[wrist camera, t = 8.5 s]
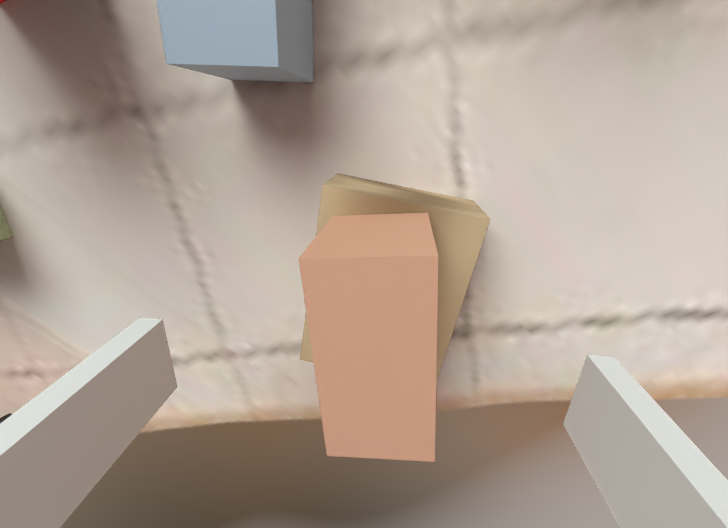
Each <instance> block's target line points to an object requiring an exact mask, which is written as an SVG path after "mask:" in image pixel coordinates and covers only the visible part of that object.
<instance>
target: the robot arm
mask: <svg viewBox="0 0 728 528" xmlns="http://www.w3.org/2000/svg"><path fill="white" fill-rule="evenodd" d="M176 388H177V383H176V378H175V374H174V369H173V365H172V360H171V356H170V351H169V346H168V342H167V337H166V333H165V328H164V324H163V319H152V318H139V319H137V320H136V321H135V322H133V323H132V324H131V325H129V326H128V327H127V328H126V329H124V330H123V331H122V332H120V333H119V334H118V335H116V336H115V337H114V338H112V339H111V340H110V341H108V342H107V343H106V344H104V345H103V346H102V347H100V348H99V349H98V350H97V351H95V352H94V353H93V354H91V355H90V356H89V357H87V358H86V359H85V360H83V361H82V362H81V363H79V364H78V365H77V366H75V367H74V368H73V369H71V370H70V371H69V372H68V373H66V374H65V375H64V376H62V377H61V378H60V379H58V380H57V381H56V382H54V383H53V384H52V385H50V386H49V387H48V388H46V389H45V390H44V391H43V392H41V393H40V394H39V395H37V396H36V397H35V398H33V399H32V400H31V401H29V402H28V403H27V404H25V405H24V406H23V407H21V408H20V409H19V410H17V411H16V412H15V413H14V414H10V413H9V414H7V415H5V416H3V417H2V418H0V528H60V527H61V526H62V525H63V523H64V522H65V521H66V520H67V519H68V517H69V516H70V515H71V514H72V513H73V511H74V510H75V509H76V508H77V507H78V505H79V504H80V503H81V502H82V501H83V499H84V498H85V497H86V496H87V495H88V493H89V492H90V491H91V490H92V488H93V487H94V486H95V485H96V484H97V482H98V481H99V480H100V479H101V478H102V477H103V475H104V474H105V473H106V472H107V470H108V469H109V468H110V467H111V466H112V465H113V463H114V462H115V461H116V460H117V458H118V457H119V456H120V455H121V454H122V452H123V451H124V450H125V449H126V448H127V447H128V445H129V444H130V443H131V442H132V441H133V439H134V438H135V437H136V436H137V435H138V433H139V432H140V431H141V430H142V429H143V427H144V426H145V425H146V424H147V423H148V421H149V420H150V419H151V418H152V417H153V415H154V414H155V413H156V412H157V411H158V409H159V408H160V407H161V406H162V405H163V403H164V402H165V401H166V400H167V399H168V397H169V396H170V395H171V394H172V393H173V391H174V390H175V389H176ZM563 425H564V427H565V429H566V430H567V432H568V434H569V436H570V437H571V440H572V441H573V443H574V445H575V447H576V449H577V451H578V452H579V454H580V456H581V458H582V460H583V462H584V463H585V465H586V467H587V469H588V471H589V473H590V474H591V476H592V478H593V480H594V482H595V484H596V485H597V487H598V489H599V491H600V493H601V495H602V497H603V498H604V500H605V502H606V504H607V506H608V508H609V509H610V511H611V513H612V515H613V517H614V518H615V520H616V522H617V524H618V526H619V528H728V480H727V479H726V478H725V477H724V476H723V475H722V474H721V473H720V472H719V471H718V469H716V467H715V466H714V465H713V464H712V463H711V462H710V461H709V460H708V459H707V457H706V456H705V455H704V454H703V453H702V452H701V451H700V450H699V449H698V448H697V447H696V446H695V444H694V443H693V442H692V441H691V440H690V439H689V438H688V437H687V436H686V434H685V433H684V432H683V431H682V430H681V429H680V428H679V427H678V426H677V425H676V424H675V422H674V421H673V420H672V419H671V418H670V417H669V416H668V415H667V414H666V413H665V412H664V410H663V409H662V408H661V407H660V406H659V405H658V404H657V403H656V402H655V401H654V400H653V398H652V397H651V396H650V395H649V394H648V393H647V392H646V391H645V390H644V389H643V388H642V386H641V385H640V384H639V383H638V382H637V381H636V380H635V379H634V378H633V377H632V376H631V374H630V373H629V372H628V371H627V370H626V369H625V368H624V367H623V366H622V365H621V364H620V362H619V361H618V360H617V359H616V358H615V357H609V356H597V355H587V357H586V360H585V363H584V366H583V368H582V371H581V374H580V377H579V380H578V383H577V386H576V389H575V392H574V395H573V397H572V400H571V403H570V406H569V409H568V412H567V415H566V418H565V421H564V424H563Z"/></svg>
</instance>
